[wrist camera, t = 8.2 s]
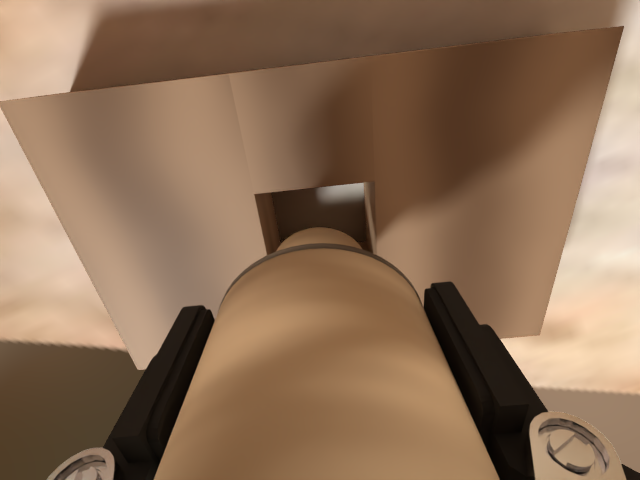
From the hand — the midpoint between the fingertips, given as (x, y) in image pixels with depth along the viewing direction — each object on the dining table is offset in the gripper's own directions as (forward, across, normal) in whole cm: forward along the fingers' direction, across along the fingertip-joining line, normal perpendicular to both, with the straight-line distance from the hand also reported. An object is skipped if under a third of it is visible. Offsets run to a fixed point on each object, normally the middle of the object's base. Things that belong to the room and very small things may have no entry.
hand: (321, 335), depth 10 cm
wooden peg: (+4, 0, 0) cm, 4 cm away
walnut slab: (+10, 0, 0) cm, 10 cm away
